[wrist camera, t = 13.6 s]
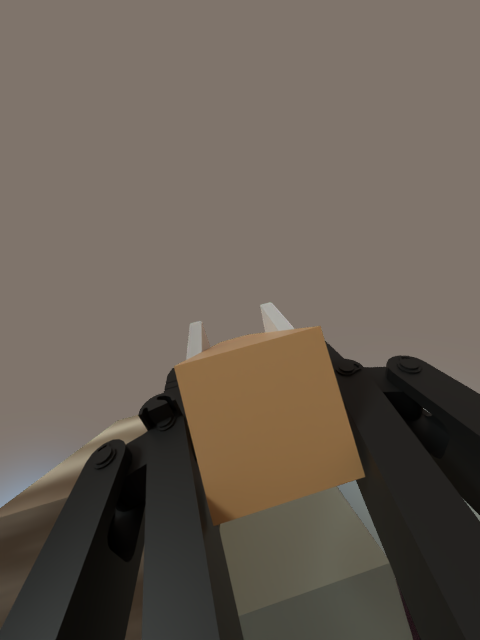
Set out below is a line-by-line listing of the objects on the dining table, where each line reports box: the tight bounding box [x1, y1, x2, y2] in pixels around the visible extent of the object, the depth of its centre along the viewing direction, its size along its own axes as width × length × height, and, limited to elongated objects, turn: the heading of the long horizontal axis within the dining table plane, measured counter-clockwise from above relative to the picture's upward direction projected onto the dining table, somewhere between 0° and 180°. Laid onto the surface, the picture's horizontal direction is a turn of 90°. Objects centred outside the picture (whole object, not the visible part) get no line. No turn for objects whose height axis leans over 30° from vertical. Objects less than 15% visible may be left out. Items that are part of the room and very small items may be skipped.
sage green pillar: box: [220, 486, 413, 640], centre depth 21 cm, size 16×12×20 cm
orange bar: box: [174, 326, 365, 526], centre depth 17 cm, size 24×4×4 cm, turn 2°
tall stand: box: [0, 415, 220, 640], centre depth 20 cm, size 16×12×30 cm
